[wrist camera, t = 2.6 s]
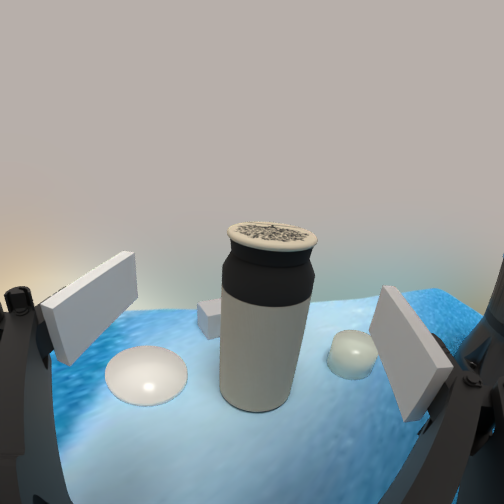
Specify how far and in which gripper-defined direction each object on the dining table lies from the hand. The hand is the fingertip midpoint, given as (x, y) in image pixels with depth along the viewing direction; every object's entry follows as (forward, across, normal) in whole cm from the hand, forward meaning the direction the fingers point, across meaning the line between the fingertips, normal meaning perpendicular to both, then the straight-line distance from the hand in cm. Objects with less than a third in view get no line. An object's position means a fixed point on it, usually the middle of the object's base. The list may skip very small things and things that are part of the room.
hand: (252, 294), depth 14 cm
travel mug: (+10, +1, -17) cm, 20 cm away
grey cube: (+21, -6, -17) cm, 28 cm away
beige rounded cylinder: (+16, +13, -17) cm, 27 cm away
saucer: (+9, -12, -17) cm, 23 cm away
